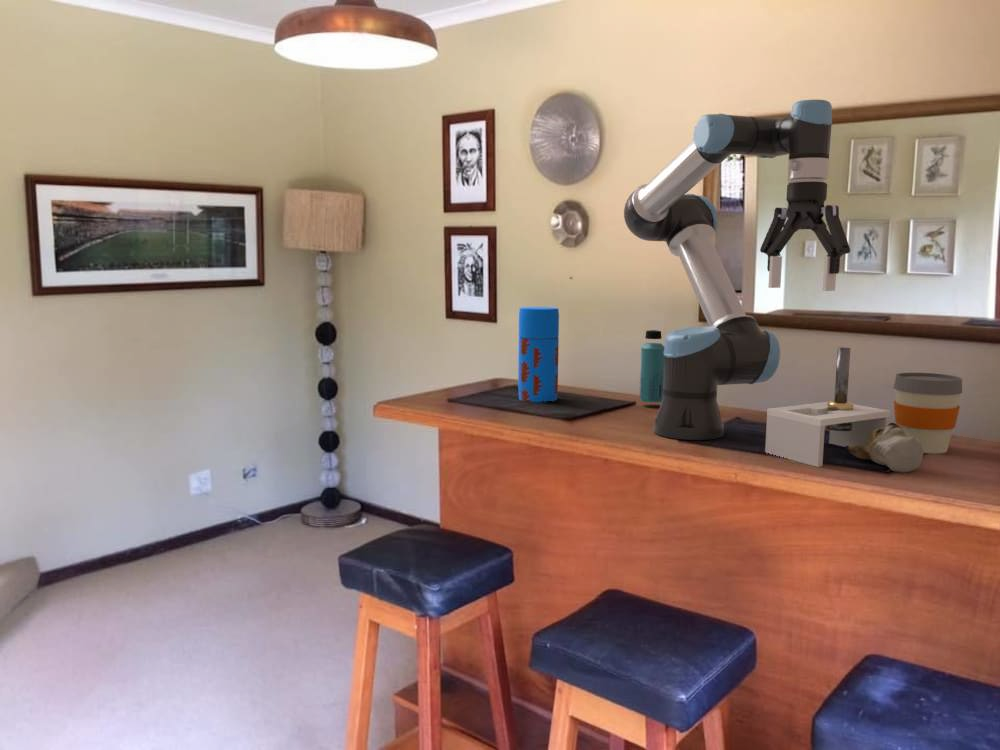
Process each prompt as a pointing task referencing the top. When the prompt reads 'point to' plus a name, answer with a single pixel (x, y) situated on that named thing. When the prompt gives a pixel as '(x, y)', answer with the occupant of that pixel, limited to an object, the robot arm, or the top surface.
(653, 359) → the beverage bottle
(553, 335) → the thermos
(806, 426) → the keyhole bracket
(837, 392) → the peg with gold collar
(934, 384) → the reusable coffee cup
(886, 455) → the ceramic sculpture
